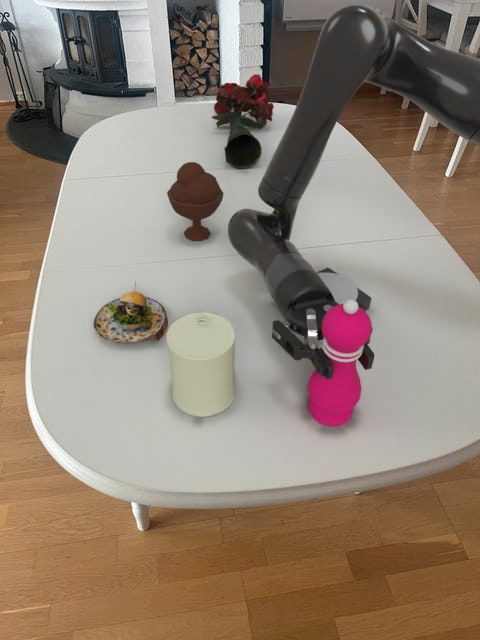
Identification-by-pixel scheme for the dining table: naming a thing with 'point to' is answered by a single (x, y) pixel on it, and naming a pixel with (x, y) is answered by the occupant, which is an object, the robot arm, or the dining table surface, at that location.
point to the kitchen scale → (343, 288)
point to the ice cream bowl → (195, 198)
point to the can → (202, 363)
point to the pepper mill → (340, 364)
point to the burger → (131, 319)
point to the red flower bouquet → (243, 119)
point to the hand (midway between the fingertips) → (350, 369)
